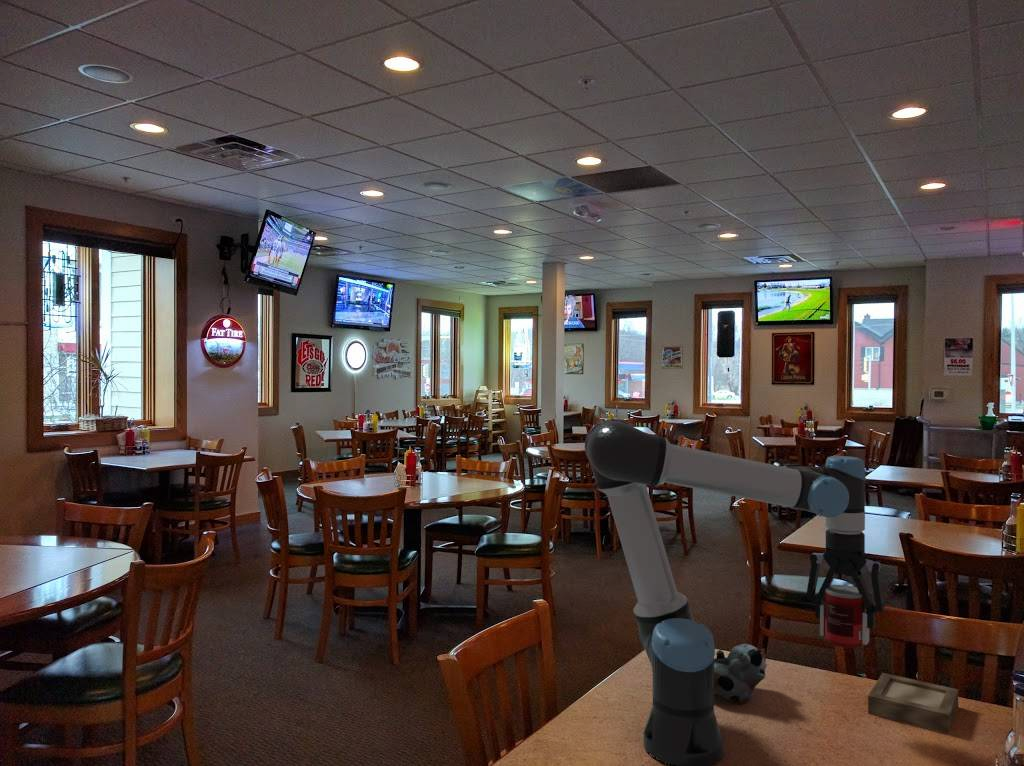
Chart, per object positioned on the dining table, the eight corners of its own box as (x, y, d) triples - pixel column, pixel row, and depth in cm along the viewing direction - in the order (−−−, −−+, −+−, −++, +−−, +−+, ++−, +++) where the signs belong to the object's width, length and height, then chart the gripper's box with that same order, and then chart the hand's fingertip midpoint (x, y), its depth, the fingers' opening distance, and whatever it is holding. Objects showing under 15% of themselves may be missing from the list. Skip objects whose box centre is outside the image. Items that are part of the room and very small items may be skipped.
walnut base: (868, 713, 158) (868, 695, 158) (882, 689, 170) (882, 672, 169) (949, 733, 149) (949, 715, 148) (958, 706, 160) (958, 689, 160)
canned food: (856, 635, 159) (856, 584, 159) (870, 649, 151) (870, 595, 151) (819, 634, 160) (819, 583, 159) (831, 647, 152) (832, 594, 151)
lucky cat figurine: (709, 675, 177) (737, 625, 177) (753, 708, 170) (783, 656, 170) (687, 678, 165) (718, 624, 165) (734, 714, 158) (766, 658, 158)
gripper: (902, 533, 152) (901, 644, 152) (799, 521, 164) (799, 623, 164) (895, 540, 146) (894, 655, 146) (789, 527, 158) (789, 632, 158)
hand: (844, 638), depth 155 cm, fingers closed on canned food, 8 cm apart
